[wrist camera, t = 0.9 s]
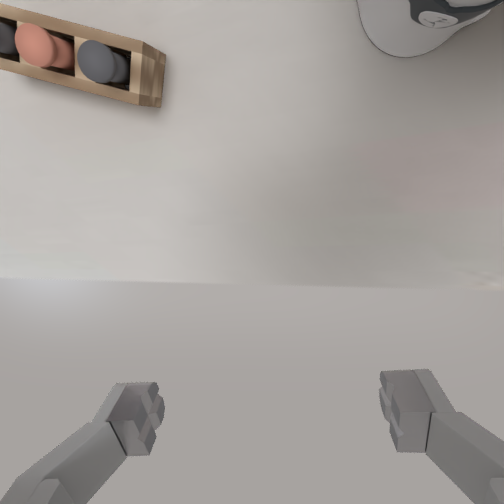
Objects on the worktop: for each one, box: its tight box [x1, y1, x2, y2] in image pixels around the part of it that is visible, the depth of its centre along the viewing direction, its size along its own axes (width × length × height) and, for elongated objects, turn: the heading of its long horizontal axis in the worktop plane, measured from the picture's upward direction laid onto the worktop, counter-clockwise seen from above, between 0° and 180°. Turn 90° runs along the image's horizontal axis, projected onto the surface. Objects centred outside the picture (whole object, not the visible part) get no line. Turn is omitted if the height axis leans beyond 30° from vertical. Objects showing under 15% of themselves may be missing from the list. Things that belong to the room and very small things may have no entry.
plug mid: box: [15, 23, 75, 71], centre depth 37 cm, size 4×4×8 cm
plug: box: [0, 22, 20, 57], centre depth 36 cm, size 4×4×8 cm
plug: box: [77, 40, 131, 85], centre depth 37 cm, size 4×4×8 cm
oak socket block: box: [0, 3, 166, 107], centre depth 40 cm, size 7×21×8 cm, turn 77°
